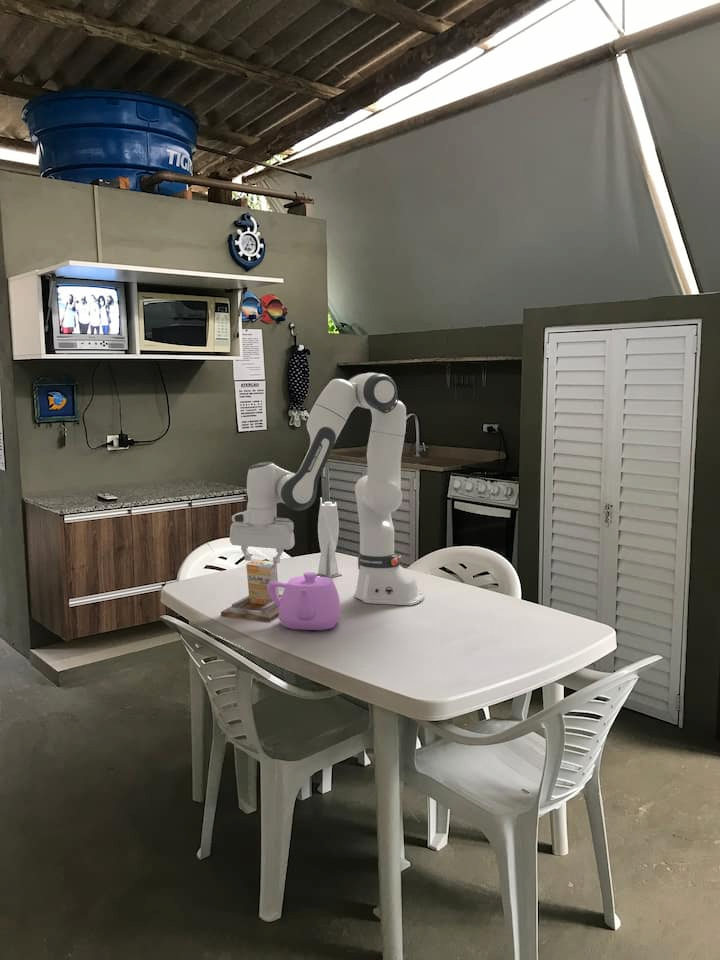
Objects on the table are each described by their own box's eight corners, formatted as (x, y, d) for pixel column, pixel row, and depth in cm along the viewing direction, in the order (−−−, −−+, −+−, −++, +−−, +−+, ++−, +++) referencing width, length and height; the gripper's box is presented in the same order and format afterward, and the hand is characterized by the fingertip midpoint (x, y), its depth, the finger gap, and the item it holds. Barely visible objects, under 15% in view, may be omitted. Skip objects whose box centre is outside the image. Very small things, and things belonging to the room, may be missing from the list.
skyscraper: (311, 575, 276) (311, 497, 273) (326, 571, 282) (326, 495, 279) (328, 579, 271) (329, 500, 267) (343, 575, 277) (344, 497, 274)
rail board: (301, 601, 242) (301, 591, 242) (270, 621, 222) (270, 611, 221) (255, 596, 247) (255, 587, 247) (220, 615, 227) (220, 605, 226)
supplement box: (248, 604, 235) (245, 564, 231) (256, 597, 239) (252, 558, 236) (273, 607, 232) (269, 566, 229) (280, 600, 237) (276, 560, 233)
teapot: (272, 614, 229) (272, 565, 227) (343, 617, 227) (343, 567, 225) (255, 639, 206) (255, 584, 204) (334, 642, 204) (334, 587, 202)
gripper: (297, 516, 231) (298, 562, 232) (237, 512, 237) (237, 556, 239) (289, 520, 225) (289, 566, 226) (226, 515, 231) (227, 561, 233)
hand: (262, 561), depth 233 cm, fingers closed on supplement box, 8 cm apart
